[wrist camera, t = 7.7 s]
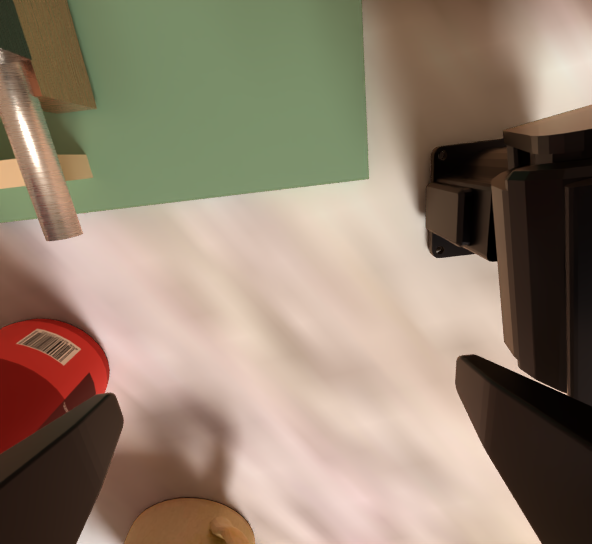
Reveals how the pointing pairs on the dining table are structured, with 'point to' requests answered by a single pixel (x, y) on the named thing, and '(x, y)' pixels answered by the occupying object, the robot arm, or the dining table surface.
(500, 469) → the robot arm
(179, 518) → the cream teapot
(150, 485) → the dining table surface
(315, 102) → the pitch
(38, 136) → the kicker rod
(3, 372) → the canned food
